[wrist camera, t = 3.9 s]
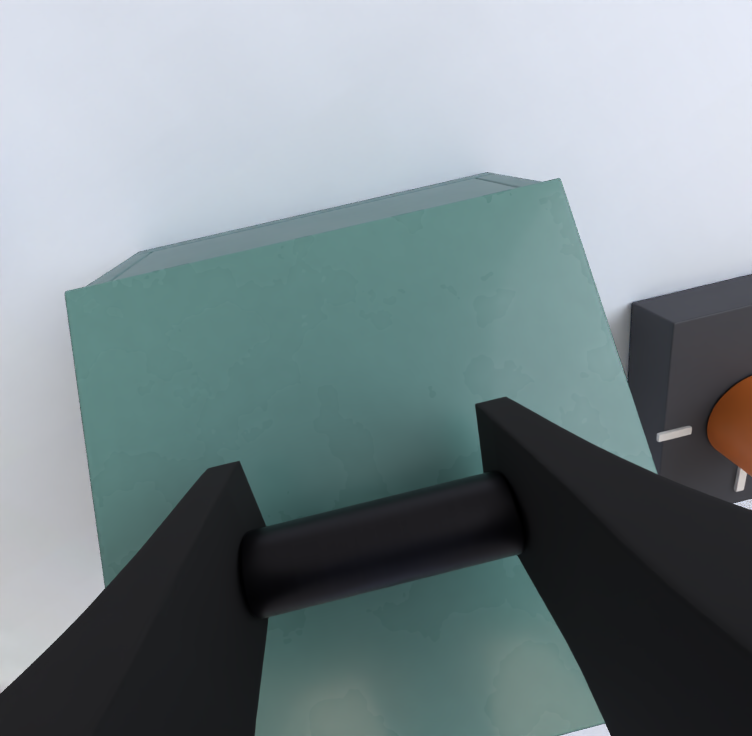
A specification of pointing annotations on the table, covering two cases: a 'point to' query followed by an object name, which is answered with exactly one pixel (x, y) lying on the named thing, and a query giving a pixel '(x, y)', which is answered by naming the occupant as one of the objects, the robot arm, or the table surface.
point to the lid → (366, 451)
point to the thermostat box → (691, 379)
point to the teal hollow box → (312, 223)
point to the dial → (733, 425)
